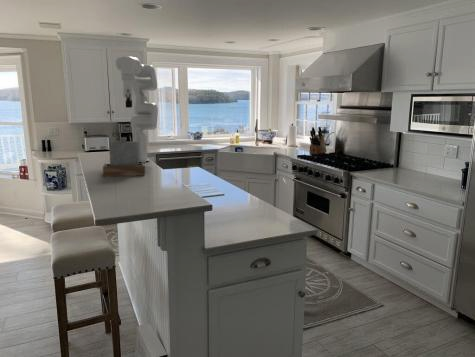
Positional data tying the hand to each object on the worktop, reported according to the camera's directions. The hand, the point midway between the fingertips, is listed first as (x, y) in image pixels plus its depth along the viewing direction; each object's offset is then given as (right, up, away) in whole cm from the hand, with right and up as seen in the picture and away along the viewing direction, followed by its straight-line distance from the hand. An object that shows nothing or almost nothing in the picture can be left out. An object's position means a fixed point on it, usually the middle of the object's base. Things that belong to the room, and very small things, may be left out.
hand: (129, 107), depth 226 cm
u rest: (-1, -41, -7) cm, 41 cm away
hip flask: (-1, -39, -7) cm, 40 cm away
